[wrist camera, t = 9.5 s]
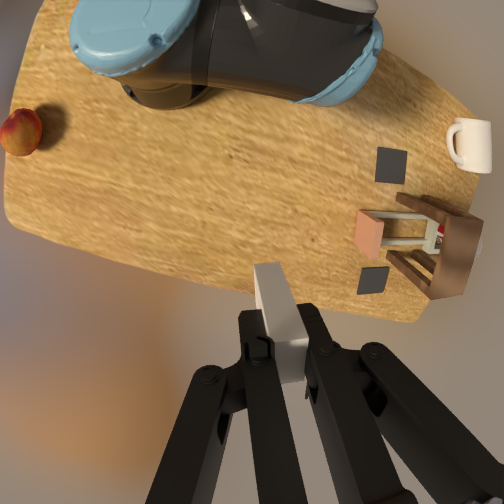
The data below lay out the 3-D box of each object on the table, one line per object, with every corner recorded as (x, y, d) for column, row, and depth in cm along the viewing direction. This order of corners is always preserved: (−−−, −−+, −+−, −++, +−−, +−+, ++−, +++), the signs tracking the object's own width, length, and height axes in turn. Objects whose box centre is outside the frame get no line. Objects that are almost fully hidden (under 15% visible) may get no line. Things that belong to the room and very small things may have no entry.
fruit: (53, 106, 33) (26, 104, 26) (49, 153, 36) (22, 159, 29) (21, 110, 32) (-6, 111, 25) (18, 154, 35) (-10, 161, 28)
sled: (359, 201, 45) (378, 212, 39) (459, 208, 47) (480, 218, 41) (352, 251, 48) (368, 268, 42) (450, 248, 51) (469, 261, 45)
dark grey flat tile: (362, 268, 51) (362, 268, 50) (388, 266, 51) (389, 267, 51) (356, 293, 53) (357, 294, 52) (382, 291, 53) (383, 292, 53)
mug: (470, 119, 40) (497, 122, 33) (472, 165, 44) (498, 173, 37) (432, 115, 40) (461, 117, 33) (435, 166, 44) (463, 175, 37)
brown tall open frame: (396, 192, 45) (452, 218, 31) (428, 195, 46) (483, 220, 32) (385, 258, 50) (430, 300, 37) (416, 256, 51) (462, 294, 37)
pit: (377, 146, 42) (378, 146, 41) (405, 151, 42) (406, 151, 42) (374, 181, 44) (375, 181, 44) (402, 184, 45) (403, 184, 44)
